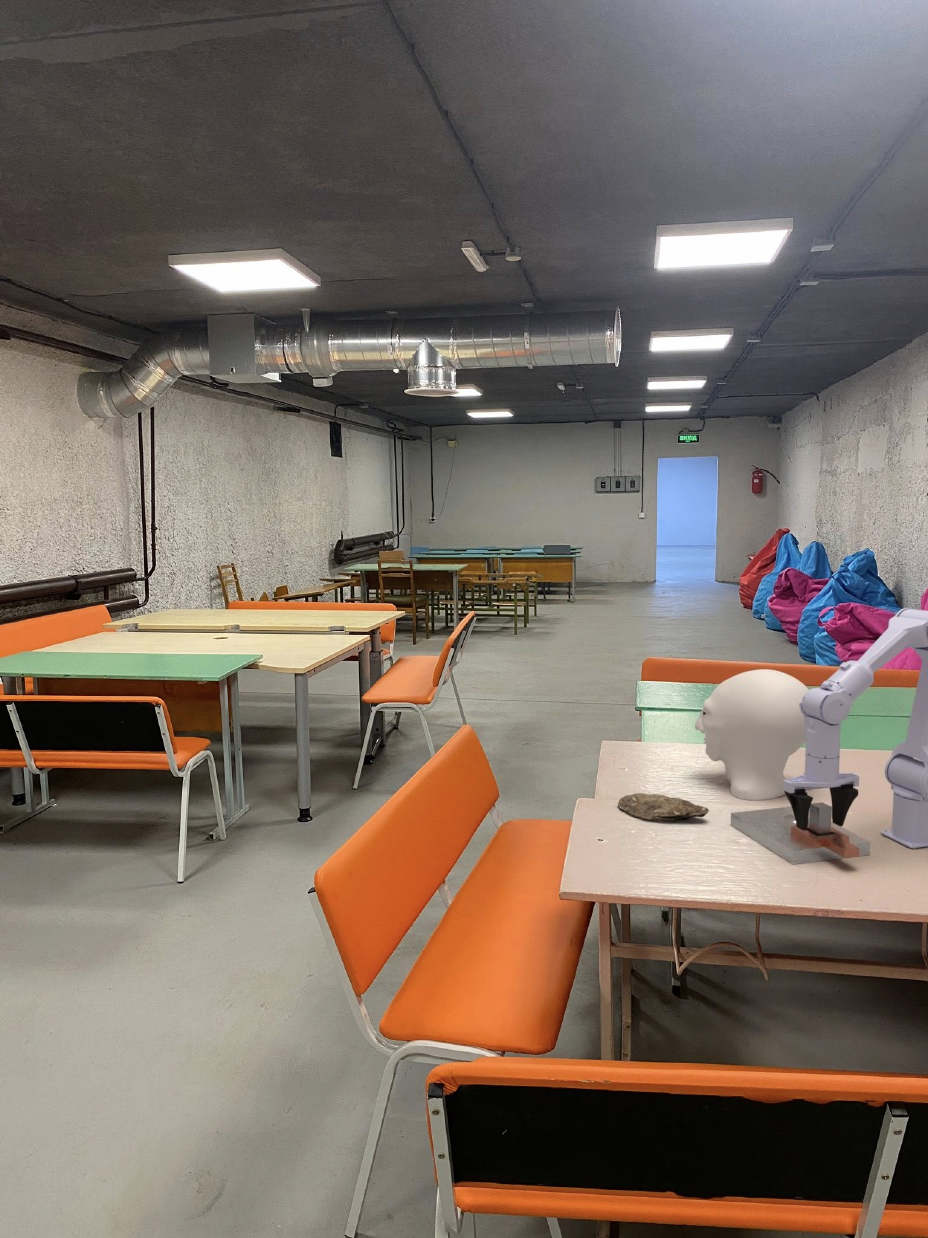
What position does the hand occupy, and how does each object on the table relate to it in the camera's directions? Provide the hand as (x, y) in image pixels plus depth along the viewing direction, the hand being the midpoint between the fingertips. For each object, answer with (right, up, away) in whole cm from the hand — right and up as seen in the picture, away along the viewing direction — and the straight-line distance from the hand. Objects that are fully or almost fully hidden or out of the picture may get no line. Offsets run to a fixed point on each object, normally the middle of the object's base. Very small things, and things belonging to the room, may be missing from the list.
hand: (819, 826), depth 147 cm
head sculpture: (+1, -1, +37) cm, 37 cm away
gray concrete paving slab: (-1, -4, +4) cm, 6 cm away
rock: (-24, -4, +21) cm, 32 cm away
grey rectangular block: (0, -5, 0) cm, 5 cm away
